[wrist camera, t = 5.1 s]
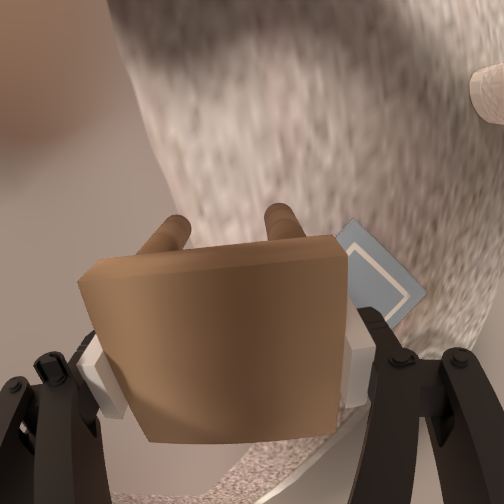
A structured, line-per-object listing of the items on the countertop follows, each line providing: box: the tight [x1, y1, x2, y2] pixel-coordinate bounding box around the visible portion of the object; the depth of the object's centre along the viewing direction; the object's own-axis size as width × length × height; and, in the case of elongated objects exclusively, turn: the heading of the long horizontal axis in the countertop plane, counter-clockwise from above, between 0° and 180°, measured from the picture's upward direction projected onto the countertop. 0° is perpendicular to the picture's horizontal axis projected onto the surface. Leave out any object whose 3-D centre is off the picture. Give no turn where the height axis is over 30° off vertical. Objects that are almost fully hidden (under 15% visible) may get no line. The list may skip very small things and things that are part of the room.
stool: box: [77, 203, 348, 444], centre depth 14 cm, size 8×8×9 cm
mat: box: [336, 218, 427, 330], centre depth 34 cm, size 14×14×1 cm
